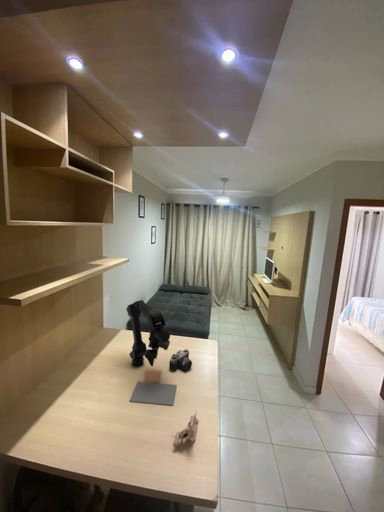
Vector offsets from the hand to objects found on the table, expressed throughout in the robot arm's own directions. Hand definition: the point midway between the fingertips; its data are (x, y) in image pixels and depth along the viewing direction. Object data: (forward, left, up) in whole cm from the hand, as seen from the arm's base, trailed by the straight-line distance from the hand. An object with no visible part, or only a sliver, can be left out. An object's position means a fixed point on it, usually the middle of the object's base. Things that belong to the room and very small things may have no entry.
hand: (153, 360), depth 124 cm
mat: (+3, -10, -12) cm, 16 cm away
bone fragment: (+20, -31, -13) cm, 39 cm away
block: (0, 0, -12) cm, 12 cm away
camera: (+16, +13, -12) cm, 24 cm away
